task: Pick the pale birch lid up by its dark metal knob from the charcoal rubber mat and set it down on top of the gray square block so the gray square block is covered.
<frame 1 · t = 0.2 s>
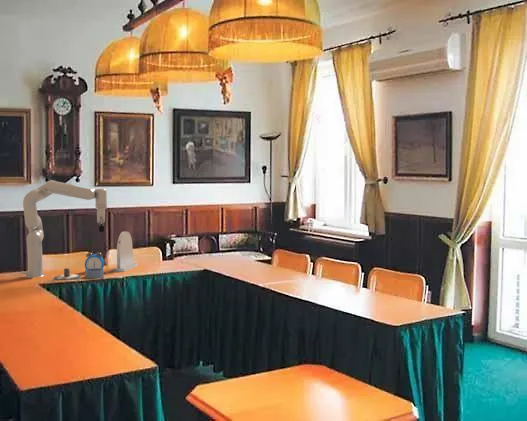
hand: (101, 231, 450), 31 cm above the table, tool pointing down, fingers open, 9 cm apart
lid: (66, 277, 436), point 1 cm above the table, touching mat
mat: (66, 279, 436), on the table
alarm clock: (94, 273, 459), on the table
gray square block: (94, 278, 439), on the table
award: (125, 269, 479), on the table
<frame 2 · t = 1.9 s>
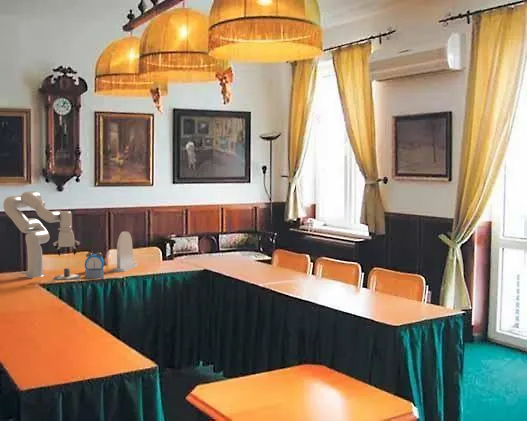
hand: (67, 255, 434), 16 cm above the table, tool pointing down, fingers open, 9 cm apart
nothing on the table moved.
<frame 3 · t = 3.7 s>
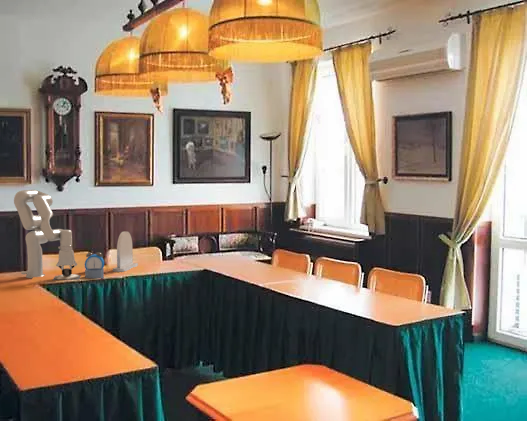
hand: (66, 275, 436), 3 cm above the table, tool pointing down, fingers closed on lid, 3 cm apart
lid: (66, 277, 436), point 1 cm above the table, touching gripper, mat
everything else where it was.
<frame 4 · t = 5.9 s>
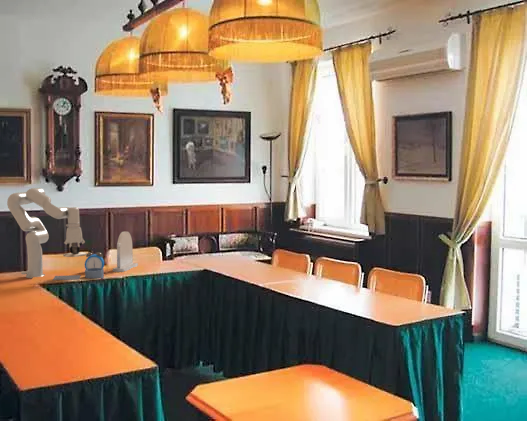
hand: (75, 252, 435), 18 cm above the table, tool pointing down, fingers closed on lid, 3 cm apart
lid: (75, 255, 435), point 16 cm above the table, touching gripper
everything else where it was.
when the fingers open (9 cm above the table, at t = 8.2 s): lid drops 1 cm, resting on gray square block.
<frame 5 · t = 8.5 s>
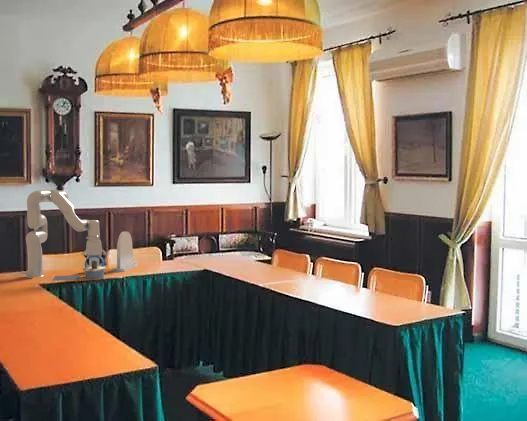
hand: (94, 264, 439), 10 cm above the table, tool pointing down, fingers open, 7 cm apart
lid: (94, 269, 439), point 6 cm above the table, touching gray square block
gray square block: (94, 278, 439), on the table, touching lid
everything else where it was.
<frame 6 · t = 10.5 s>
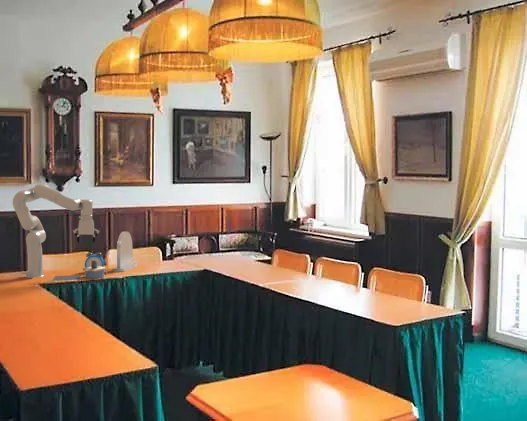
hand: (86, 242, 442), 24 cm above the table, tool pointing down, fingers open, 9 cm apart
lid: (94, 269, 439), point 6 cm above the table
gray square block: (94, 278, 439), on the table
everything else where it was.
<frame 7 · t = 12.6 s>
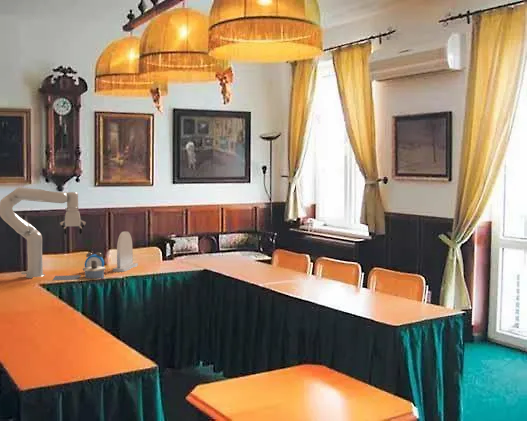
hand: (73, 234, 452), 28 cm above the table, tool pointing down, fingers open, 9 cm apart
lid: (94, 269, 439), point 6 cm above the table, touching gray square block
gray square block: (94, 278, 439), on the table, touching lid
everything else where it was.
at the end: lid 0.5 cm from the gray square block (horizontally); lid point 5.9 cm above the table; lid tilted 0° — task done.
